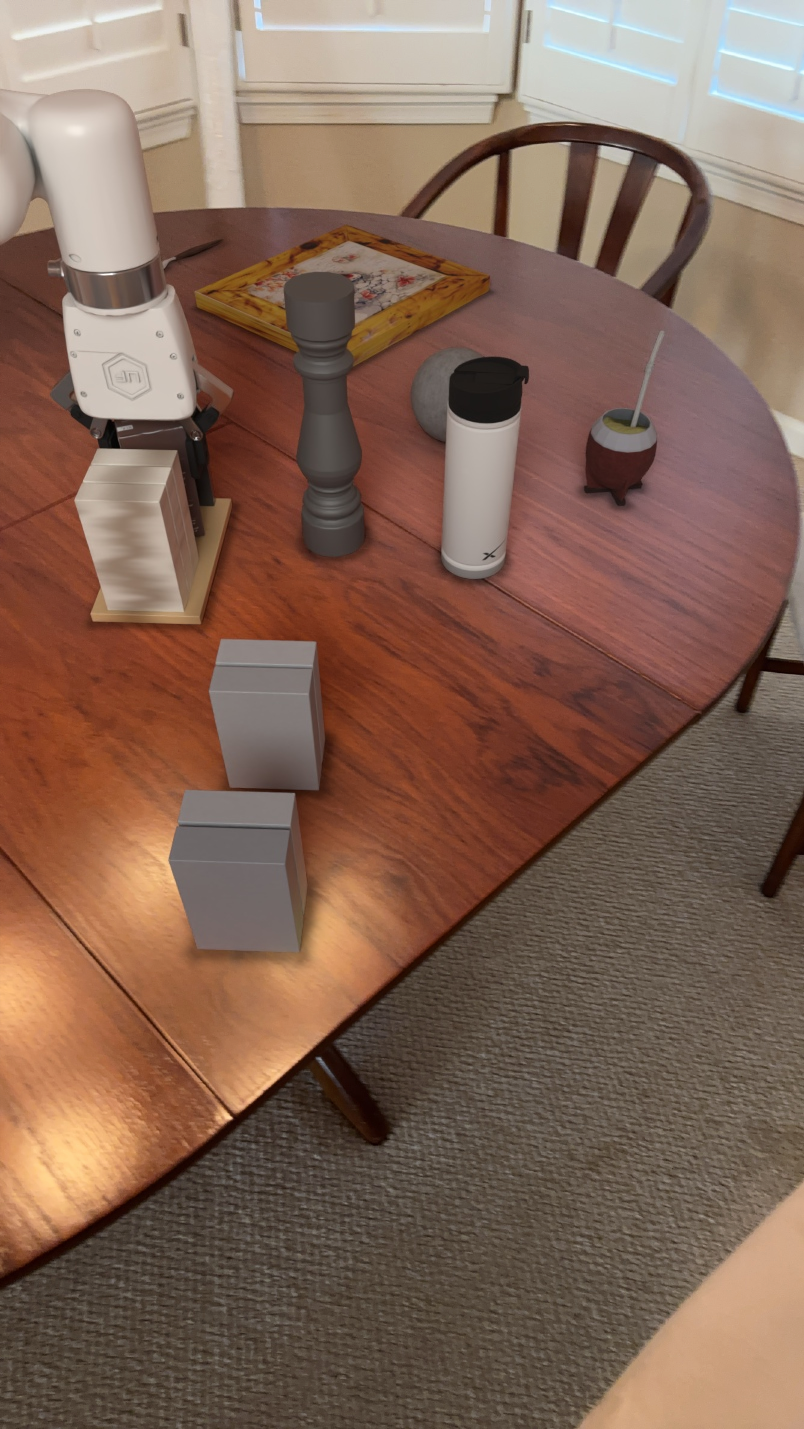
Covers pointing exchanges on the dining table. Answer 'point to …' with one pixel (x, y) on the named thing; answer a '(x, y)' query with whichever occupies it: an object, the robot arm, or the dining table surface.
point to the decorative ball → (436, 388)
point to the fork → (191, 251)
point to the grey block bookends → (253, 800)
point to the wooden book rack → (149, 537)
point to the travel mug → (480, 464)
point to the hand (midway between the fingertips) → (158, 468)
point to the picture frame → (387, 289)
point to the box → (163, 438)
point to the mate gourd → (622, 445)
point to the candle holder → (326, 411)
